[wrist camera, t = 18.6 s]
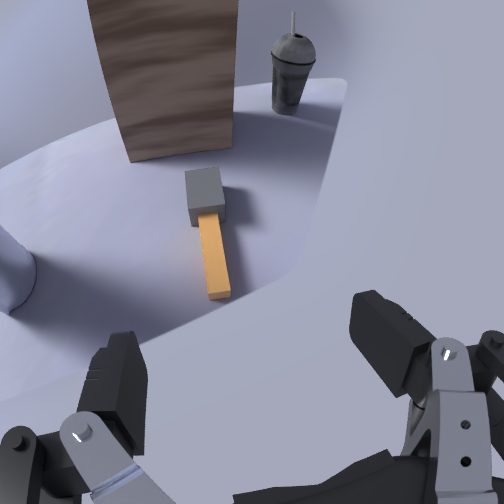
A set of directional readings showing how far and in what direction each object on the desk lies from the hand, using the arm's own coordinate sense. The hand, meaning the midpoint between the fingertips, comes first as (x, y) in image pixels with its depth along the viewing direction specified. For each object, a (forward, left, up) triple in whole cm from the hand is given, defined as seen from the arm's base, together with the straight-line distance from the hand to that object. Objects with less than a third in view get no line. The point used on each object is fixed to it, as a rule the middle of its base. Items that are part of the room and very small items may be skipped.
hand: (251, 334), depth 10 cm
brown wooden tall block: (+26, +26, -22) cm, 43 cm away
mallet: (+12, +11, -22) cm, 28 cm away
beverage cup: (+42, +15, -23) cm, 50 cm away
